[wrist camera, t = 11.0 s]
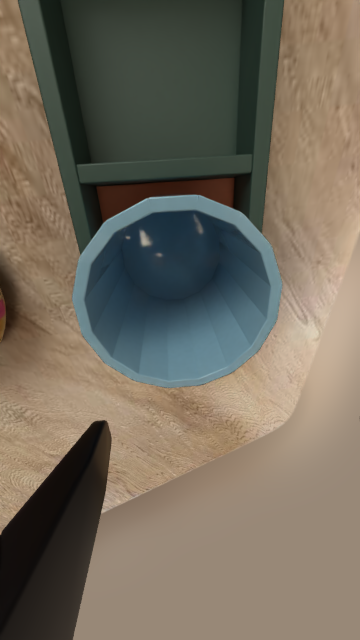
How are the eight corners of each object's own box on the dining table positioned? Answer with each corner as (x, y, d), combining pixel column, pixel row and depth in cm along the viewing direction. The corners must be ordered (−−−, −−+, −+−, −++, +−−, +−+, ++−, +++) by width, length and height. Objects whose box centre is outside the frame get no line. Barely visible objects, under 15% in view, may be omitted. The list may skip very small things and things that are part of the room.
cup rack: (296, -685, 6) (446, -1664, 3) (237, 308, 19) (252, 332, 16) (-103, -702, 6) (-432, -1809, 3) (112, 318, 19) (102, 345, 16)
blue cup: (224, 190, 15) (297, 188, 7) (221, 297, 18) (268, 380, 10) (108, 197, 15) (44, 203, 7) (127, 304, 18) (98, 394, 10)
